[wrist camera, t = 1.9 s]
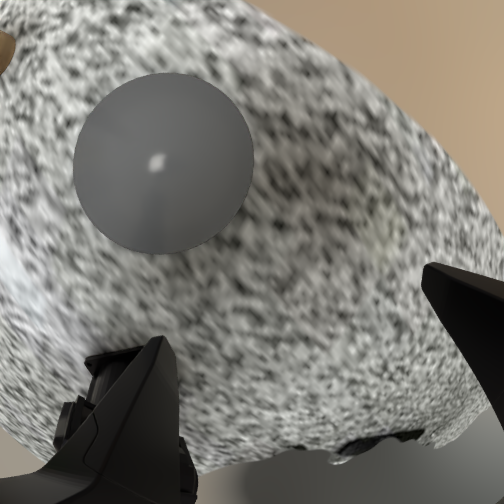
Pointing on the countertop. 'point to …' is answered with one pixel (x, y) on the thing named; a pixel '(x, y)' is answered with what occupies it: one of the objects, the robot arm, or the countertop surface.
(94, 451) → the robot arm
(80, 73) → the countertop surface
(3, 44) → the brown cylinder
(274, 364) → the countertop surface
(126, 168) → the slate coaster
